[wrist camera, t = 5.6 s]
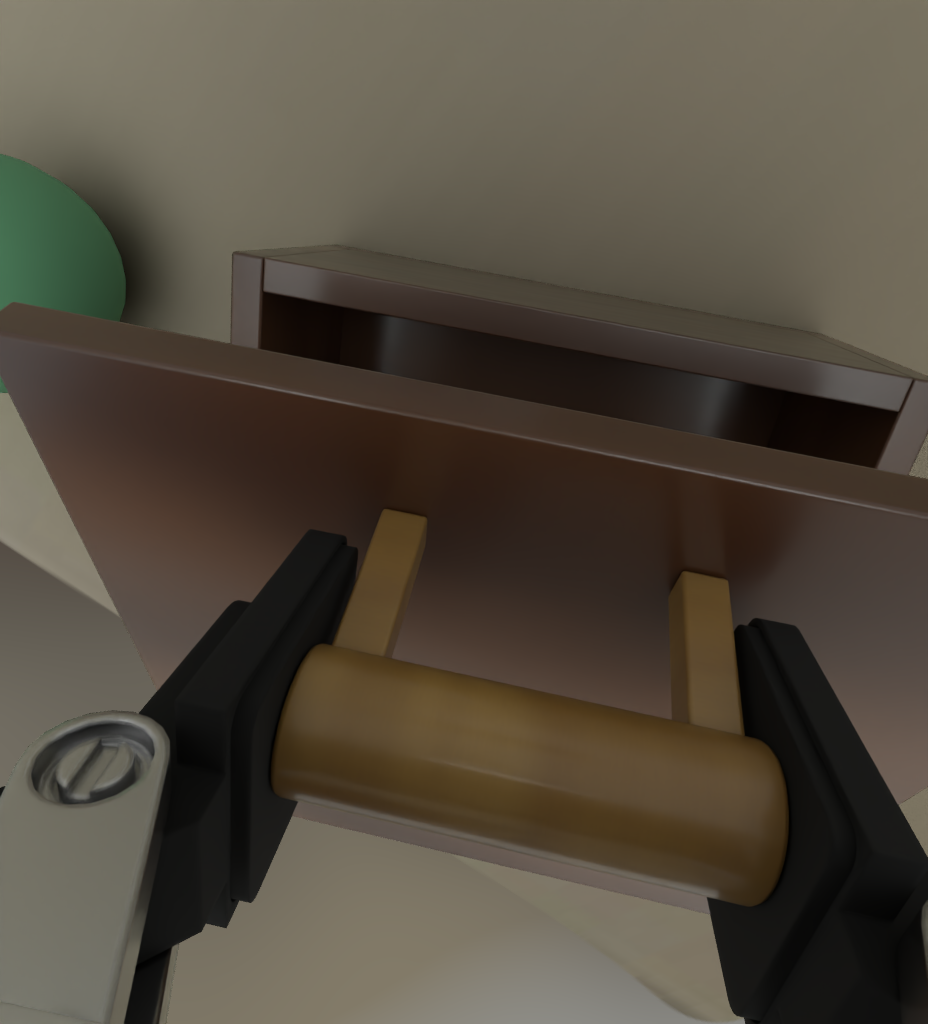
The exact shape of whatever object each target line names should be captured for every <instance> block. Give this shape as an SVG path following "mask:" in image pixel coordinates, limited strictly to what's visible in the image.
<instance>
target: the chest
mask: <svg viewBox="0 0 928 1024" xmlns="http://www.w3.org/2000/svg"><path fill="white" fill-rule="evenodd" d="M231 344H236V345H241V346H246V347H251V348H256V349H262V350H267V351H272V352H277V353H282V354H287V355H292V356H298V357H303V358H308V359H313V360H318V361H323V362H328V363H334V364H339V365H344V366H349V367H354V368H359V369H364V370H370V371H375V372H380V373H385V374H390V375H395V376H401V377H406V378H411V379H416V380H421V381H426V382H431V383H437V384H442V385H447V386H452V387H457V388H462V389H467V390H473V391H478V392H483V393H488V394H493V395H498V396H503V397H509V398H514V399H519V400H524V401H529V402H534V403H539V404H545V405H550V406H555V407H560V408H565V409H570V410H575V411H581V412H586V413H591V414H596V415H601V416H606V417H611V418H617V419H622V420H627V421H632V422H637V423H642V424H647V425H653V426H658V427H663V428H668V429H673V430H678V431H683V432H689V433H694V434H699V435H704V436H709V437H714V438H719V439H725V440H730V441H735V442H740V443H745V444H750V445H756V446H761V447H766V448H771V449H776V450H781V451H786V452H792V453H797V454H802V455H807V456H812V457H817V458H822V459H828V460H833V461H838V462H843V463H848V464H853V465H858V466H864V467H869V468H874V469H879V470H884V471H889V472H894V473H900V474H905V475H909V472H910V470H911V468H912V466H913V464H914V462H915V460H916V457H917V455H918V453H919V451H920V449H921V447H922V445H923V442H924V440H925V438H926V436H927V434H928V376H926V375H923V374H921V373H918V372H916V371H913V370H911V369H908V368H906V367H903V366H901V365H898V364H896V363H893V362H891V361H889V360H886V359H884V358H881V357H879V356H876V355H874V354H871V353H869V352H866V351H864V350H861V349H859V348H856V347H854V346H851V345H849V344H846V343H844V342H841V341H839V340H836V339H834V338H830V337H828V336H825V335H823V334H818V333H813V332H807V331H802V330H796V329H791V328H786V327H780V326H775V325H769V324H764V323H758V322H753V321H747V320H742V319H737V318H731V317H726V316H720V315H715V314H709V313H704V312H699V311H693V310H688V309H682V308H677V307H671V306H666V305H660V304H655V303H650V302H644V301H639V300H633V299H628V298H622V297H617V296H611V295H606V294H601V293H595V292H590V291H584V290H579V289H573V288H568V287H563V286H557V285H552V284H546V283H541V282H535V281H530V280H524V279H519V278H514V277H508V276H503V275H497V274H492V273H486V272H481V271H476V270H470V269H465V268H459V267H454V266H448V265H443V264H437V263H432V262H427V261H421V260H416V259H410V258H405V257H399V256H394V255H389V254H383V253H378V252H372V251H367V250H361V249H356V248H350V247H345V246H340V245H324V246H309V247H295V248H280V249H265V250H251V251H236V252H233V254H232V294H231Z"/></svg>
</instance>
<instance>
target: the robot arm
mask: <svg viewBox="0 0 928 1024" xmlns="http://www.w3.org/2000/svg"><path fill="white" fill-rule="evenodd" d="M357 561H358V549H357V547H352V546H347V538H346V536H344V535H339V534H334V533H329V532H324V531H319V530H314V529H309V530H308V531H307V532H306V533H305V535H304V536H303V537H302V539H301V540H300V541H299V542H298V544H297V545H296V546H295V547H294V549H293V550H292V551H291V553H290V554H289V555H288V556H287V558H286V559H285V560H284V561H283V563H282V564H281V565H280V567H279V568H278V569H277V570H276V572H275V573H274V574H273V576H272V577H271V578H270V579H269V581H268V582H267V583H266V584H265V586H264V587H263V588H262V590H261V591H260V592H259V593H258V595H257V596H256V597H255V598H254V600H253V601H252V602H247V601H242V600H237V601H234V602H232V603H231V604H230V605H229V606H228V607H227V608H226V609H225V611H224V612H223V613H222V614H221V615H220V617H219V618H218V619H217V620H216V621H215V623H214V624H213V625H212V626H211V627H210V629H209V630H208V631H207V632H206V633H205V635H204V636H203V637H202V638H201V639H200V641H199V642H198V643H197V644H196V645H195V646H194V648H193V649H192V650H191V651H190V652H189V654H188V655H187V656H186V657H185V658H184V660H183V661H182V662H181V663H180V664H179V666H178V667H177V668H176V669H175V670H174V672H173V673H172V674H171V675H170V676H169V678H168V679H167V680H166V681H165V682H164V684H163V685H162V686H161V687H160V688H159V690H158V691H157V692H156V693H155V695H154V696H153V697H152V698H151V699H150V700H149V702H148V703H147V704H146V705H145V706H144V708H143V709H142V710H141V711H140V712H139V714H138V713H135V712H128V711H114V710H112V711H104V712H96V713H89V714H86V715H83V716H80V717H77V718H73V719H71V720H67V721H65V722H63V723H61V724H60V725H58V726H56V727H54V728H52V729H50V730H48V731H46V732H45V733H44V734H43V735H41V736H40V737H39V738H38V739H37V740H35V741H34V742H33V743H32V744H31V745H29V746H28V748H27V749H26V750H25V752H24V753H23V755H22V756H21V758H20V759H19V760H18V762H17V763H16V765H15V767H14V770H13V772H12V774H11V776H10V778H9V780H8V782H7V784H6V786H4V787H1V788H0V1024H166V1022H167V1016H168V1009H169V1003H170V997H171V991H172V984H173V978H174V972H175V966H176V960H177V953H178V947H179V943H180V942H182V941H184V940H186V939H188V938H190V937H192V936H194V935H196V934H198V933H200V932H202V930H203V927H204V926H205V924H206V923H207V924H211V925H215V926H220V927H223V928H227V926H228V923H229V922H230V919H231V917H232V915H233V913H234V911H235V909H236V907H237V904H238V902H239V900H240V901H245V902H249V903H251V902H252V901H253V900H254V899H255V897H256V895H257V893H258V891H259V889H260V887H261V885H262V882H263V880H264V878H265V876H266V873H267V871H268V869H269V867H270V864H271V862H272V860H273V858H274V855H275V853H276V851H277V849H278V846H279V844H280V842H281V839H282V837H283V835H284V833H285V830H286V828H287V826H288V824H289V821H290V819H291V817H292V815H293V812H294V810H295V808H296V806H297V803H298V801H294V800H289V799H285V798H281V797H279V796H277V795H276V794H275V793H274V792H273V790H272V787H271V757H272V750H273V744H274V739H275V734H276V730H277V726H278V722H279V718H280V715H281V711H282V708H283V705H284V702H285V699H286V696H287V693H288V690H289V688H290V685H291V683H292V680H293V678H294V676H295V674H296V672H297V669H298V667H299V666H300V664H301V662H302V660H303V659H304V657H305V656H306V654H307V653H308V651H309V650H310V649H311V648H312V647H313V646H315V645H317V644H323V643H324V644H328V645H332V642H333V640H334V637H335V634H336V632H337V629H338V626H339V624H340V621H341V619H342V616H343V613H344V611H345V608H346V605H347V603H348V600H349V597H350V595H351V592H352V589H353V587H354V584H355V582H356V571H357ZM734 640H735V649H736V659H737V668H738V677H739V687H740V696H741V705H742V714H743V724H744V733H745V736H748V737H752V738H757V739H759V740H761V741H763V742H764V743H766V744H767V745H768V746H770V747H771V749H772V750H773V751H774V753H775V754H776V756H777V758H778V760H779V762H780V764H781V767H782V770H783V773H784V777H785V781H786V787H787V793H788V802H789V835H788V844H787V852H786V857H785V862H784V865H783V869H782V873H781V875H780V878H779V881H778V883H777V885H776V887H775V889H774V891H773V892H772V894H771V895H770V897H769V898H768V899H767V900H766V901H764V902H763V903H762V904H759V905H756V906H750V907H747V906H743V905H739V904H734V903H730V902H726V901H721V900H717V899H713V898H709V897H707V901H708V906H709V910H710V915H711V920H712V925H713V929H714V934H715V939H716V944H717V948H718V953H719V958H720V963H721V967H722V972H723V977H724V982H725V986H726V991H727V996H728V1000H729V1004H730V1007H731V1009H732V1011H733V1013H734V1014H735V1015H736V1016H740V1017H744V1019H745V1024H928V857H927V855H926V853H925V852H924V850H923V848H922V846H921V845H920V843H919V841H918V839H917V838H916V836H915V834H914V832H913V830H912V829H911V827H910V825H909V823H908V822H907V820H906V818H905V816H904V815H903V813H902V811H901V809H900V807H899V806H898V804H897V802H896V800H895V799H894V797H893V795H892V793H891V791H890V790H889V788H888V786H887V784H886V783H885V781H884V779H883V777H882V776H881V774H880V772H879V770H878V768H877V767H876V765H875V763H874V761H873V760H872V758H871V756H870V754H869V752H868V751H867V749H866V747H865V745H864V744H863V742H862V740H861V738H860V737H859V735H858V733H857V731H856V729H855V728H854V726H853V724H852V722H851V721H850V719H849V717H848V715H847V714H846V712H845V710H844V708H843V706H842V705H841V703H840V701H839V699H838V698H837V696H836V694H835V692H834V690H833V689H832V687H831V685H830V683H829V682H828V680H827V678H826V676H825V675H824V673H823V671H822V669H821V667H820V666H819V664H818V662H817V660H816V659H815V657H814V655H813V653H812V651H811V650H810V648H809V646H808V644H807V643H806V641H805V639H804V637H803V636H802V634H801V632H800V630H799V629H798V628H797V627H796V626H794V625H790V624H785V623H780V622H775V621H770V620H765V619H760V618H754V619H752V620H751V621H750V622H749V624H748V626H747V625H742V624H740V625H738V626H737V627H736V628H735V630H734Z"/></svg>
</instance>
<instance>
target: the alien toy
mask: <svg viewBox="0 0 928 1024" xmlns="http://www.w3.org/2000/svg"><path fill="white" fill-rule="evenodd" d="M125 295H126V279H125V274H124V269H123V264H122V259H121V256H120V254H119V251H118V249H117V247H116V245H115V242H114V240H113V238H112V236H111V234H110V232H109V231H108V229H107V228H106V227H105V225H104V224H103V222H102V221H101V219H100V218H99V217H98V215H97V214H96V213H95V211H94V210H93V209H92V208H91V207H90V206H89V205H88V204H87V203H86V202H84V201H83V200H82V199H81V198H80V197H79V196H78V195H77V194H76V193H75V192H74V191H73V190H71V189H70V188H69V187H68V186H66V185H65V184H64V183H62V182H61V181H59V180H57V179H55V178H54V177H52V176H50V175H48V174H47V173H45V172H43V171H41V170H40V169H38V168H36V167H34V166H32V165H30V164H28V163H26V162H24V161H22V160H19V159H16V158H13V157H10V156H6V155H3V154H0V310H1V309H3V308H4V307H5V306H7V305H8V304H9V303H12V302H20V303H25V304H30V305H35V306H40V307H45V308H51V309H56V310H61V311H66V312H71V313H76V314H82V315H87V316H92V317H97V318H102V319H107V320H112V321H118V322H120V319H121V315H122V312H123V309H124V305H125ZM0 393H8V391H7V389H6V387H5V385H4V383H3V381H2V379H1V377H0Z"/></svg>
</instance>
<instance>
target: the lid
mask: <svg viewBox="0 0 928 1024" xmlns="http://www.w3.org/2000/svg"><path fill="white" fill-rule="evenodd" d="M0 377H1V379H2V381H3V383H4V385H5V387H6V389H7V391H8V393H9V395H10V397H11V399H12V401H13V403H14V405H15V407H16V409H17V411H18V413H19V415H20V417H21V419H22V421H23V423H24V425H25V427H26V429H27V431H28V433H29V435H30V437H31V439H32V441H33V443H34V445H35V447H36V449H37V451H38V453H39V455H40V457H41V459H42V461H43V463H44V465H45V467H46V469H47V471H48V473H49V475H50V477H51V479H52V481H53V483H54V485H55V487H56V489H57V491H58V493H59V495H60V497H61V499H62V501H63V503H64V505H65V507H66V509H67V511H68V513H69V515H70V517H71V519H72V521H73V523H74V525H75V527H76V529H77V531H78V533H79V535H80V537H81V539H82V541H83V543H84V545H85V547H86V549H87V551H88V553H89V555H90V557H91V559H92V561H93V563H94V565H95V567H96V569H97V571H98V573H99V575H100V577H101V579H102V581H103V583H104V585H105V587H106V589H107V591H108V593H109V595H110V597H111V599H112V601H113V603H114V605H115V607H116V609H117V611H118V613H119V615H120V617H121V619H122V621H123V623H124V625H125V627H126V629H127V631H128V633H129V635H130V637H131V639H132V641H133V643H134V645H135V647H136V649H137V651H138V653H139V655H140V657H141V659H142V661H143V663H144V665H145V667H146V669H147V671H148V673H149V675H150V677H151V679H152V681H153V683H154V685H155V687H156V690H157V691H158V690H159V688H160V687H161V686H162V685H163V684H164V682H165V681H166V680H167V679H168V678H169V676H170V675H171V674H172V673H173V672H174V670H175V669H176V668H177V667H178V666H179V664H180V663H181V662H182V661H183V660H184V658H185V657H186V656H187V655H188V654H189V652H190V651H191V650H192V649H193V648H194V646H195V645H196V644H197V643H198V642H199V641H200V639H201V638H202V637H203V636H204V635H205V633H206V632H207V631H208V630H209V629H210V627H211V626H212V625H213V624H214V623H215V621H216V620H217V619H218V618H219V617H220V615H221V614H222V613H223V612H224V611H225V609H226V608H227V607H228V606H229V605H230V604H231V603H232V602H234V601H237V600H242V601H247V602H252V601H253V600H254V598H255V597H256V596H257V595H258V593H259V592H260V591H261V590H262V588H263V587H264V586H265V584H266V583H267V582H268V581H269V579H270V578H271V577H272V576H273V574H274V573H275V572H276V570H277V569H278V568H279V567H280V565H281V564H282V563H283V561H284V560H285V559H286V558H287V556H288V555H289V554H290V553H291V551H292V550H293V549H294V547H295V546H296V545H297V544H298V542H299V541H300V540H301V539H302V537H303V536H304V535H305V533H306V532H307V531H308V530H309V529H314V530H319V531H324V532H329V533H334V534H339V535H344V536H346V538H347V546H352V547H357V549H358V561H357V571H356V582H355V584H354V587H353V589H352V592H351V595H350V597H349V600H348V603H347V605H346V608H345V611H344V613H343V616H342V619H341V621H340V624H339V626H338V629H337V632H336V634H335V637H334V640H333V642H332V645H328V644H324V643H323V644H317V645H315V646H313V647H312V648H311V649H310V650H309V651H308V653H307V654H306V656H305V657H304V659H303V660H302V662H301V664H300V666H299V667H298V669H297V672H296V674H295V676H294V678H293V680H292V683H291V685H290V688H289V690H288V693H287V696H286V699H285V702H284V705H283V708H282V711H281V715H280V718H279V722H278V726H277V730H276V734H275V739H274V744H273V750H272V757H271V787H272V790H273V792H274V793H275V794H276V795H277V796H279V797H281V798H285V799H289V800H294V801H298V803H297V806H296V808H295V810H294V812H293V815H292V816H294V817H298V818H302V819H306V820H311V821H315V822H319V823H323V824H328V825H332V826H336V827H340V828H345V829H349V830H353V831H358V832H362V833H366V834H370V835H375V836H379V837H383V838H387V839H392V840H396V841H400V842H404V843H408V844H413V845H417V846H421V847H425V848H430V849H434V850H438V851H442V852H447V853H451V854H455V855H459V856H464V857H468V858H472V859H476V860H481V861H485V862H489V863H493V864H498V865H502V866H506V867H510V868H515V869H519V870H523V871H527V872H532V873H536V874H540V875H544V876H549V877H553V878H557V879H561V880H566V881H570V882H574V883H578V884H583V885H587V886H591V887H595V888H600V889H604V890H608V891H613V892H617V893H621V894H625V895H630V896H634V897H638V898H642V899H647V900H651V901H655V902H659V903H664V904H668V905H672V906H676V907H681V908H685V909H689V910H693V911H698V912H702V913H706V914H710V910H709V906H708V901H707V897H709V898H713V899H717V900H721V901H726V902H730V903H734V904H739V905H743V906H747V907H750V906H756V905H759V904H762V903H763V902H764V901H766V900H767V899H768V898H769V897H770V895H771V894H772V892H773V891H774V889H775V887H776V885H777V883H778V881H779V878H780V875H781V873H782V869H783V865H784V862H785V857H786V852H787V844H788V835H789V802H788V793H787V787H786V781H785V777H784V773H783V770H782V767H781V764H780V762H779V760H778V758H777V756H776V754H775V753H774V751H773V750H772V749H771V747H770V746H768V745H767V744H766V743H764V742H763V741H761V740H759V739H757V738H752V737H748V736H745V733H744V724H743V714H742V705H741V696H740V687H739V677H738V668H737V659H736V649H735V640H734V630H735V628H736V627H737V626H738V625H740V624H742V625H747V626H748V624H749V622H750V621H751V620H752V619H754V618H760V619H765V620H770V621H775V622H780V623H785V624H790V625H794V626H796V627H797V628H798V629H799V630H800V632H801V634H802V636H803V637H804V639H805V641H806V643H807V644H808V646H809V648H810V650H811V651H812V653H813V655H814V657H815V659H816V660H817V662H818V664H819V666H820V667H821V669H822V671H823V673H824V675H825V676H826V678H827V680H828V682H829V683H830V685H831V687H832V689H833V690H834V692H835V694H836V696H837V698H838V699H839V701H840V703H841V705H842V706H843V708H844V710H845V712H846V714H847V715H848V717H849V719H850V721H851V722H852V724H853V726H854V728H855V729H856V731H857V733H858V735H859V737H860V738H861V740H862V742H863V744H864V745H865V747H866V749H867V751H868V752H869V754H870V756H871V758H872V760H873V761H874V763H875V765H876V767H877V768H878V770H879V772H880V774H881V776H882V777H883V779H884V781H885V783H886V784H887V786H888V788H889V790H890V791H891V793H892V795H893V797H894V799H895V800H896V802H897V804H898V805H899V804H901V803H903V802H904V801H906V800H907V799H909V798H911V797H912V796H914V795H915V794H917V793H919V792H920V791H922V790H924V789H925V788H927V787H928V479H925V478H920V477H915V476H910V475H905V474H900V473H894V472H889V471H884V470H879V469H874V468H869V467H864V466H858V465H853V464H848V463H843V462H838V461H833V460H828V459H822V458H817V457H812V456H807V455H802V454H797V453H792V452H786V451H781V450H776V449H771V448H766V447H761V446H756V445H750V444H745V443H740V442H735V441H730V440H725V439H719V438H714V437H709V436H704V435H699V434H694V433H689V432H683V431H678V430H673V429H668V428H663V427H658V426H653V425H647V424H642V423H637V422H632V421H627V420H622V419H617V418H611V417H606V416H601V415H596V414H591V413H586V412H581V411H575V410H570V409H565V408H560V407H555V406H550V405H545V404H539V403H534V402H529V401H524V400H519V399H514V398H509V397H503V396H498V395H493V394H488V393H483V392H478V391H473V390H467V389H462V388H457V387H452V386H447V385H442V384H437V383H431V382H426V381H421V380H416V379H411V378H406V377H401V376H395V375H390V374H385V373H380V372H375V371H370V370H364V369H359V368H354V367H349V366H344V365H339V364H334V363H328V362H323V361H318V360H313V359H308V358H303V357H298V356H292V355H287V354H282V353H277V352H272V351H267V350H262V349H256V348H251V347H246V346H241V345H236V344H231V343H226V342H220V341H215V340H210V339H205V338H200V337H195V336H190V335H184V334H179V333H174V332H169V331H164V330H159V329H154V328H148V327H143V326H138V325H133V324H128V323H123V322H118V321H112V320H107V319H102V318H97V317H92V316H87V315H82V314H76V313H71V312H66V311H61V310H56V309H51V308H45V307H40V306H35V305H30V304H25V303H20V302H12V303H9V304H8V305H7V306H5V307H4V308H3V309H1V310H0Z"/></svg>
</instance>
